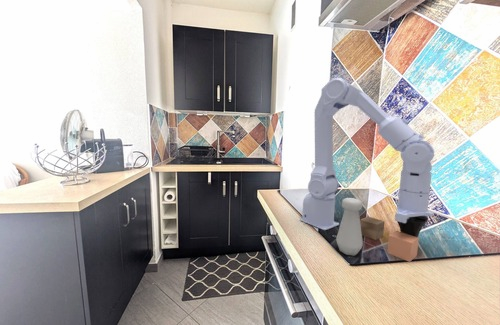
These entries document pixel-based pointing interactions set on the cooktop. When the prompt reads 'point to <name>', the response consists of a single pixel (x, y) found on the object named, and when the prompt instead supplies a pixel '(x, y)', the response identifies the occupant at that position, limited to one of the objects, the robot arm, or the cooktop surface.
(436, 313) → the cooktop surface
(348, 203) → the salt shaker
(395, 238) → the terracotta block
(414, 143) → the robot arm
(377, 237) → the walnut block
